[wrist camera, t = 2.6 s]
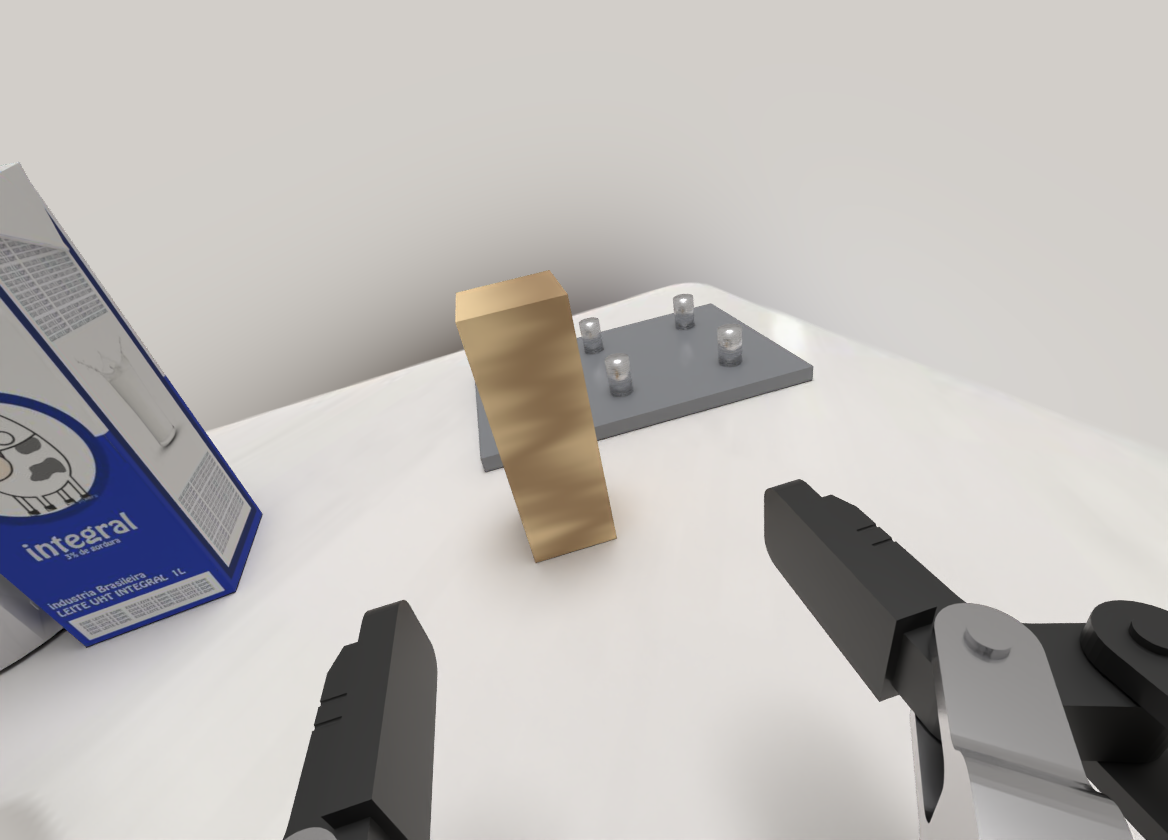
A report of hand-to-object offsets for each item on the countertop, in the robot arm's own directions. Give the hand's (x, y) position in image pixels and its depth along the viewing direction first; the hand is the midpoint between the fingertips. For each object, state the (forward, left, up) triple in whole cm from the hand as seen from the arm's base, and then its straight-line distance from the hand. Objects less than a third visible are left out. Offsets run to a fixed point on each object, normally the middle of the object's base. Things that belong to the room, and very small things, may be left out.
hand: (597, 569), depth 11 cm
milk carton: (-21, +16, -9) cm, 28 cm away
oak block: (0, +11, -9) cm, 14 cm away
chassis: (+7, +25, -9) cm, 28 cm away
